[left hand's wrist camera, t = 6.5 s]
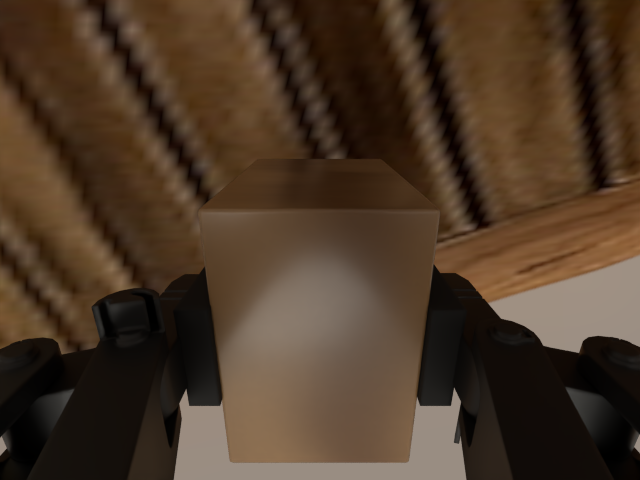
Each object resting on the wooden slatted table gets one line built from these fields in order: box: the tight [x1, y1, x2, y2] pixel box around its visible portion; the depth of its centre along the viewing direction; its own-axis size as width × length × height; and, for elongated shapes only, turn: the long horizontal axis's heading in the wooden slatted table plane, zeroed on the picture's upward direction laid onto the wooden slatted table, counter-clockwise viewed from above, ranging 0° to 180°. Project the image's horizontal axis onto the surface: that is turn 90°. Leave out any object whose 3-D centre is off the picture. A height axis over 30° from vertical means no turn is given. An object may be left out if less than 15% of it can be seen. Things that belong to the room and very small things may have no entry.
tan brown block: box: [198, 159, 440, 463], centre depth 12 cm, size 5×7×7 cm
